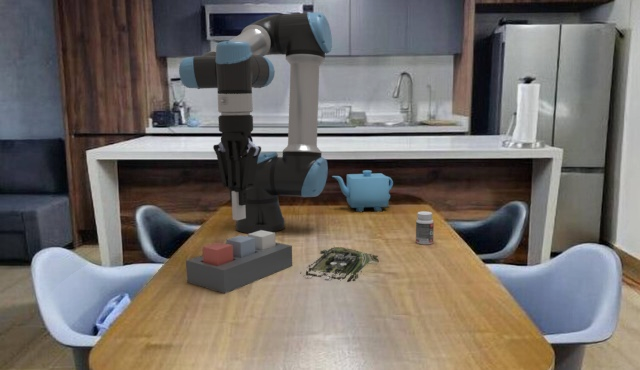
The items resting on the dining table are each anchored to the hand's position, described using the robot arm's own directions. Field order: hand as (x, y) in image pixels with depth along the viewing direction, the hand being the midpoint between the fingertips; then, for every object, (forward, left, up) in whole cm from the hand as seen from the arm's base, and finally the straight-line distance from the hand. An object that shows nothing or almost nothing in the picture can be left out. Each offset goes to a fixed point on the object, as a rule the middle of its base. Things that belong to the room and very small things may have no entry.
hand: (239, 218), depth 121 cm
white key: (0, +7, -9) cm, 12 cm away
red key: (0, -7, -9) cm, 11 cm away
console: (0, 0, -13) cm, 13 cm away
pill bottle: (+23, +48, -13) cm, 54 cm away
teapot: (-15, +75, -13) cm, 78 cm away
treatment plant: (+15, +19, -14) cm, 28 cm away
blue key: (0, 0, -9) cm, 9 cm away
